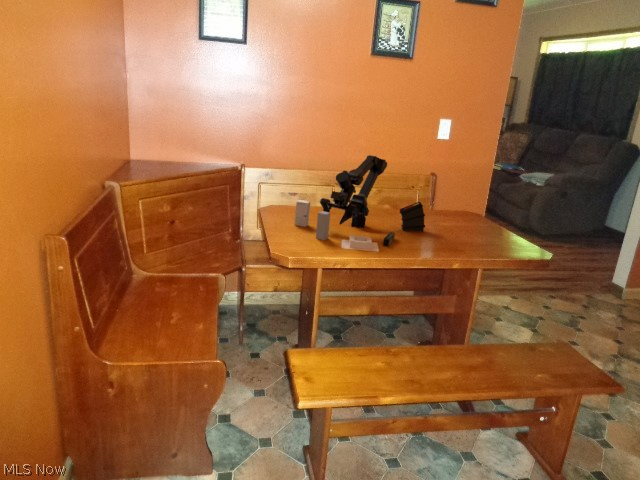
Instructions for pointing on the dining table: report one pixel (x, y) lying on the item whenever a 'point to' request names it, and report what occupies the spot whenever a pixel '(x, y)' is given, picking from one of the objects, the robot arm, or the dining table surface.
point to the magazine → (413, 217)
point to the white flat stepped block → (360, 243)
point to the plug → (323, 225)
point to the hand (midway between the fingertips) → (331, 222)
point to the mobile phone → (388, 239)
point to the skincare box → (302, 213)
